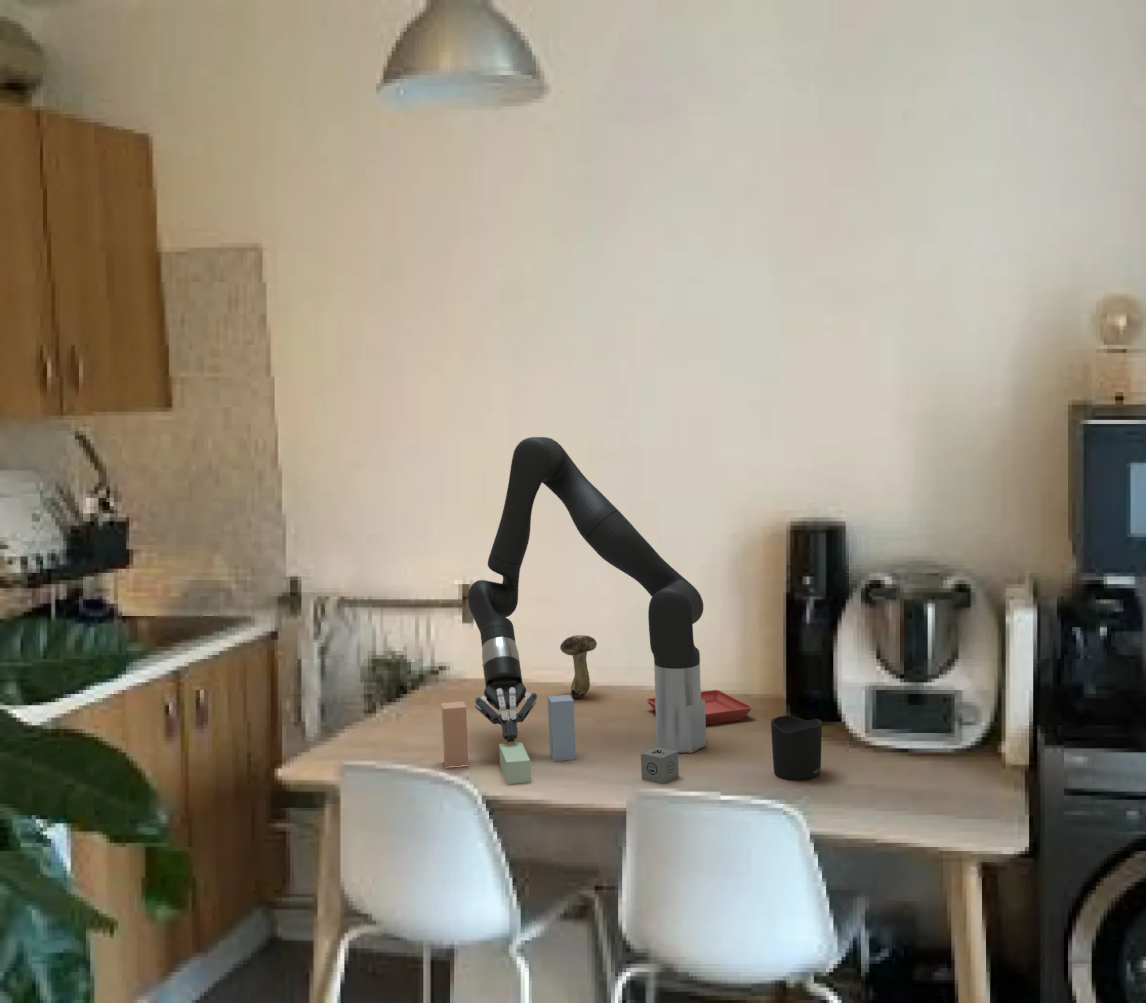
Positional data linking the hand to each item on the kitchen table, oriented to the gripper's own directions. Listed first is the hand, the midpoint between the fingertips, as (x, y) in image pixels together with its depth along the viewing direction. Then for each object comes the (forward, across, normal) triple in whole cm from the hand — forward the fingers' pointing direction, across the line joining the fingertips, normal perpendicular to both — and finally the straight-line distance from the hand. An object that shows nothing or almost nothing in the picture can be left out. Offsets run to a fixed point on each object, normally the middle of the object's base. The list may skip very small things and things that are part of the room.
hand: (511, 739), depth 251 cm
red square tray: (-13, +44, +22) cm, 51 cm away
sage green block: (+1, 0, +4) cm, 4 cm away
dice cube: (+14, +26, -6) cm, 31 cm away
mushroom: (-30, +22, +37) cm, 52 cm away
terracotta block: (0, -11, +7) cm, 13 cm away
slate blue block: (+1, +11, +6) cm, 12 cm away
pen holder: (+18, +52, -10) cm, 55 cm away
